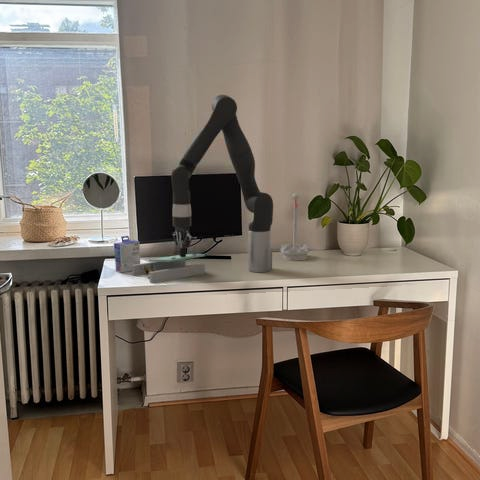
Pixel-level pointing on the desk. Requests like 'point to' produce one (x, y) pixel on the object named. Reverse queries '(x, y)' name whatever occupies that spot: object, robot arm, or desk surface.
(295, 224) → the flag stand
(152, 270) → the eagle figurine
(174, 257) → the cover
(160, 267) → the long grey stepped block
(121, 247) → the ink cartridge box
